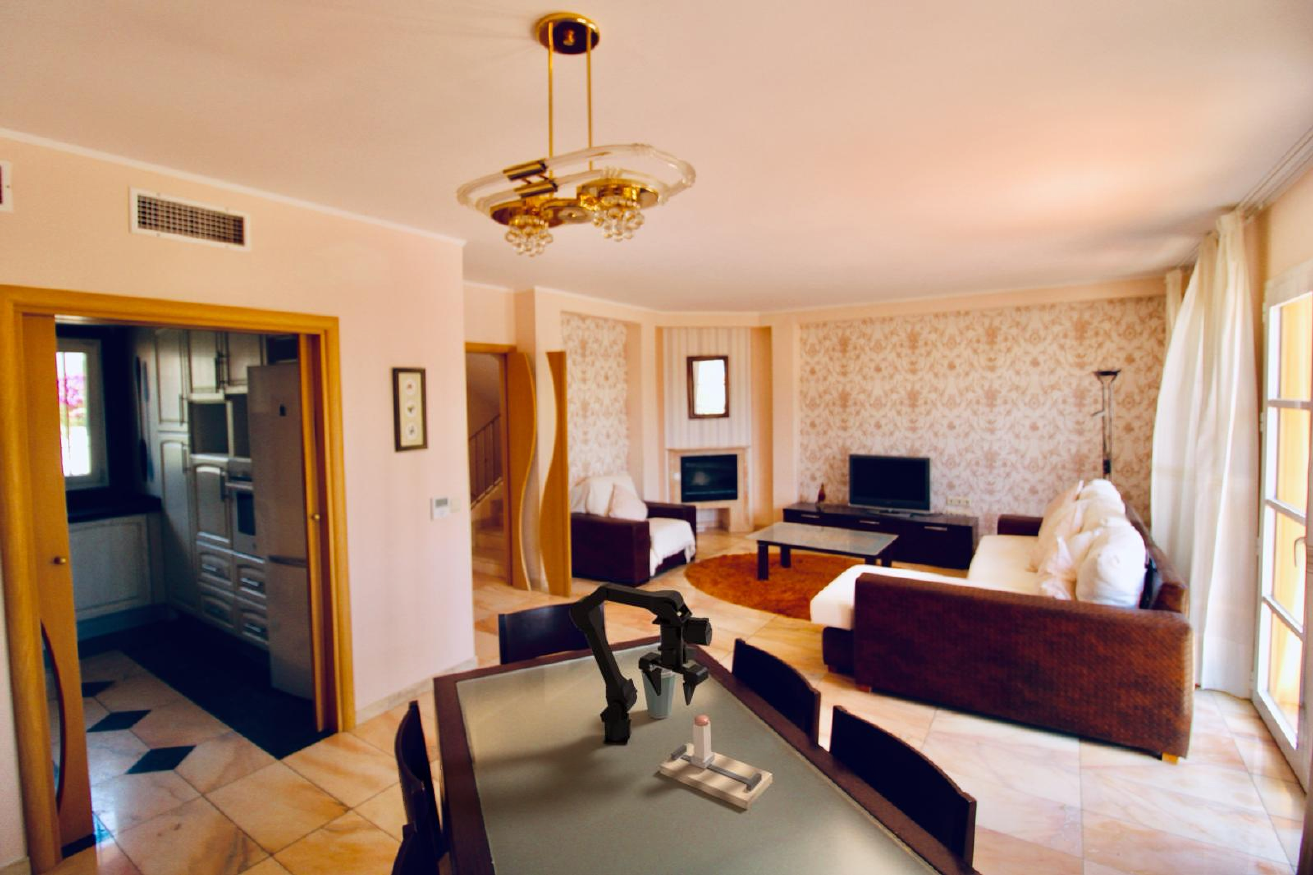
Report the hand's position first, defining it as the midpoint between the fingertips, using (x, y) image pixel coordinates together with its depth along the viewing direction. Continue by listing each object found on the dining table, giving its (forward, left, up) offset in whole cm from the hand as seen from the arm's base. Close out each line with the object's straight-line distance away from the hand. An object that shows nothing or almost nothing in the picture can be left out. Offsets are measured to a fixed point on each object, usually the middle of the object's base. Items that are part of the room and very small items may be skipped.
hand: (673, 700), depth 160 cm
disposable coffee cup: (-6, +18, -13) cm, 23 cm away
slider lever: (+8, -10, -10) cm, 16 cm away
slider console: (+11, -12, -13) cm, 20 cm away
